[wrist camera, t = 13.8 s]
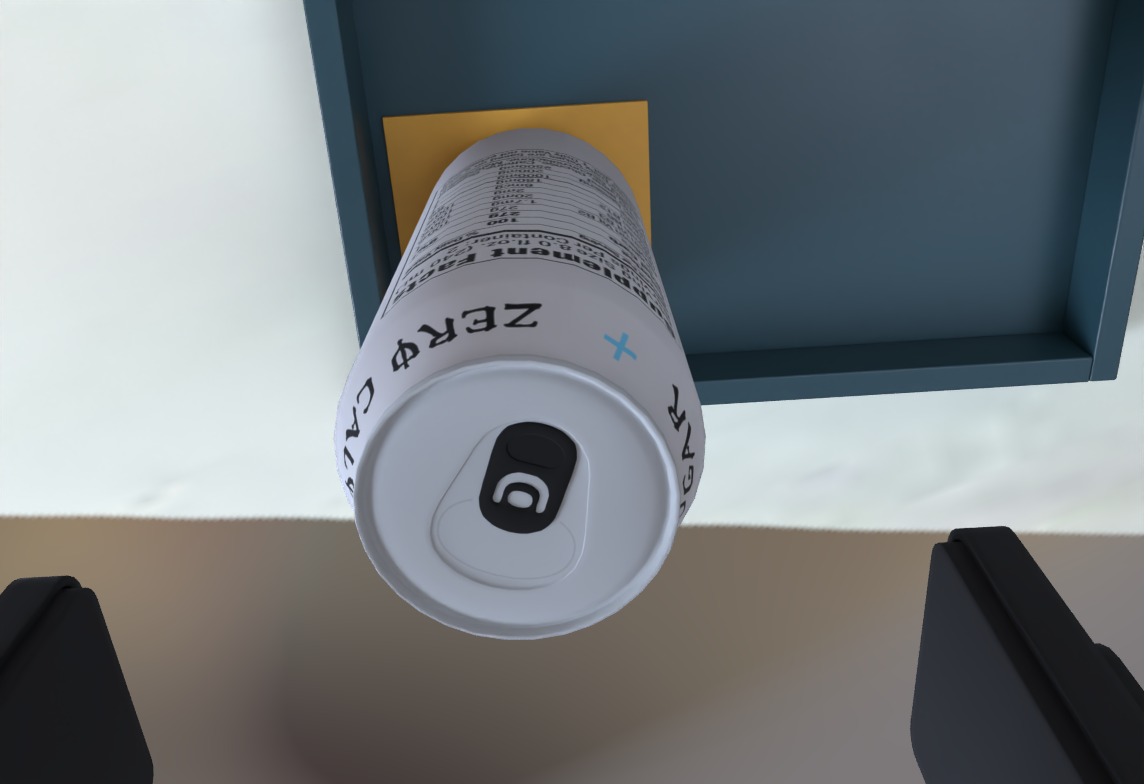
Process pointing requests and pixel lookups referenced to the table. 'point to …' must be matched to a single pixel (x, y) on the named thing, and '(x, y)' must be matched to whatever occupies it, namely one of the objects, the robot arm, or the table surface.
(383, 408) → the energy drink can
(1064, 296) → the tray
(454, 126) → the corner tile
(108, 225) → the table surface
